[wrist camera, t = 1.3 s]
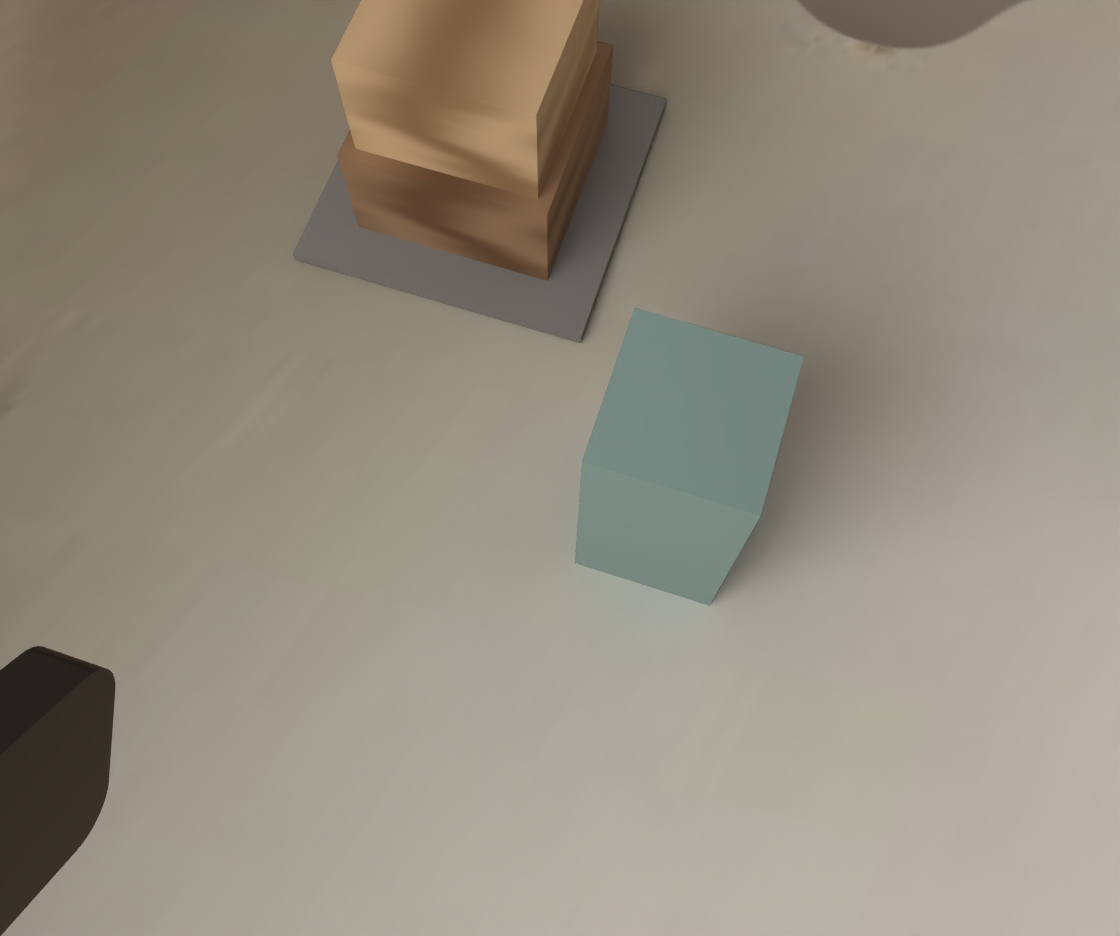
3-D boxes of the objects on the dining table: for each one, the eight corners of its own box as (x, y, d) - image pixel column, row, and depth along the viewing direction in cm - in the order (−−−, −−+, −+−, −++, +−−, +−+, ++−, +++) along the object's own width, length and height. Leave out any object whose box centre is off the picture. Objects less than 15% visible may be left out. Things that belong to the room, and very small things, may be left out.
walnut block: (607, 123, 45) (612, 45, 40) (547, 281, 42) (547, 214, 38) (428, 75, 45) (415, -7, 41) (358, 226, 43) (337, 155, 38)
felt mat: (665, 105, 45) (666, 99, 45) (580, 342, 41) (580, 338, 41) (403, 35, 47) (401, 28, 46) (295, 259, 43) (293, 253, 42)
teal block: (744, 479, 39) (804, 356, 30) (709, 605, 38) (760, 516, 28) (615, 440, 40) (634, 307, 31) (575, 563, 38) (582, 461, 29)
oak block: (596, 51, 40) (601, -45, 36) (538, 199, 38) (536, 114, 34) (423, 6, 41) (408, -93, 37) (355, 148, 39) (331, 59, 34)
